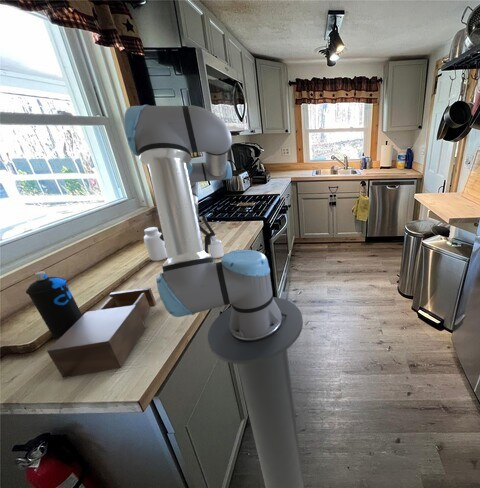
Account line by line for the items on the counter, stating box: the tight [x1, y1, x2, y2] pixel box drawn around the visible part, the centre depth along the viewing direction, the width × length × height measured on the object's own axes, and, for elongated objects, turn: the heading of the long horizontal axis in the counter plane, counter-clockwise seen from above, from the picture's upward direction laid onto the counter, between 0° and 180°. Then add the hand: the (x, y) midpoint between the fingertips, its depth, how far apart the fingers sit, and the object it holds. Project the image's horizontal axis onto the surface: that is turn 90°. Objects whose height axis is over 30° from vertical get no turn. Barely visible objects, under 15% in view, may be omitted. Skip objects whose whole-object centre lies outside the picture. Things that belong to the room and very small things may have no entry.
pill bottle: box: [143, 226, 167, 262], centre depth 123 cm, size 8×8×15 cm
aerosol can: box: [25, 270, 83, 339], centre depth 76 cm, size 8×8×20 cm
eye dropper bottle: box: [208, 234, 225, 259], centre depth 122 cm, size 4×6×12 cm
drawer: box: [97, 287, 157, 322], centre depth 82 cm, size 18×12×7 cm, turn 12°
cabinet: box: [46, 305, 146, 379], centre depth 69 cm, size 15×13×9 cm
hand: (188, 254), depth 102 cm, fingers open, 13 cm apart
